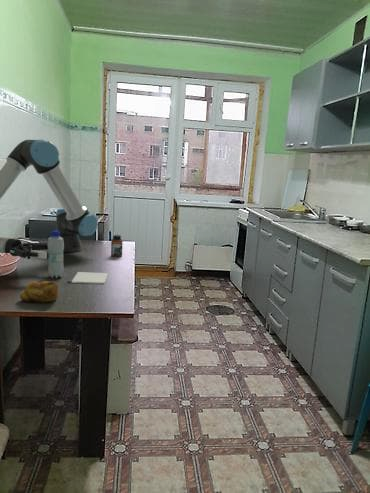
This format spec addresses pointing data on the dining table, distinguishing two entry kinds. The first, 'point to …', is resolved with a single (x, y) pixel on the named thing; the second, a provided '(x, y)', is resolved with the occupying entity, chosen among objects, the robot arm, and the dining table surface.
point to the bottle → (55, 255)
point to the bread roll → (40, 292)
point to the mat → (88, 278)
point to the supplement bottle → (116, 246)
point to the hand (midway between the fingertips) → (54, 251)
